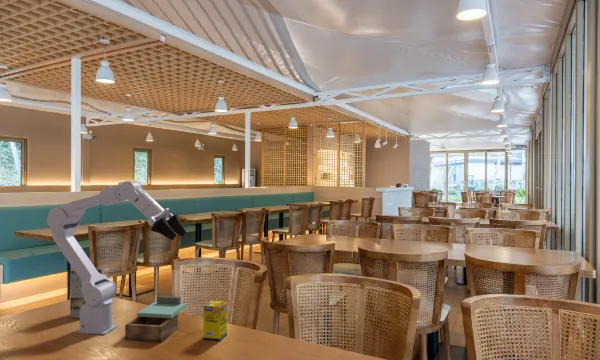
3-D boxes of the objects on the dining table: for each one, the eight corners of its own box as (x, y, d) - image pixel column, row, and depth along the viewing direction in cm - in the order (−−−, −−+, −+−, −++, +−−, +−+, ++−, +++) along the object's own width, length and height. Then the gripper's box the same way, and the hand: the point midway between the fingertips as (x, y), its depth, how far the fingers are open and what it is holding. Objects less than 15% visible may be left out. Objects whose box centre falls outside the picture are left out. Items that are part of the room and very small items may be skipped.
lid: (136, 316, 139) (136, 305, 139) (154, 305, 151) (154, 295, 151) (171, 318, 137) (171, 307, 137) (186, 307, 149) (186, 296, 149)
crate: (125, 340, 132) (125, 324, 132) (144, 326, 144) (144, 312, 144) (161, 342, 130) (161, 326, 130) (177, 328, 142) (177, 314, 142)
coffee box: (85, 318, 151) (85, 274, 151) (69, 317, 153) (69, 273, 152) (101, 310, 160) (102, 269, 160) (87, 309, 162) (87, 268, 161)
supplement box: (220, 341, 132) (220, 306, 131) (202, 340, 133) (203, 305, 133) (227, 334, 137) (227, 301, 137) (210, 333, 139) (210, 300, 138)
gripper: (146, 200, 130) (177, 229, 129) (167, 198, 145) (195, 224, 143) (132, 217, 131) (163, 246, 130) (154, 213, 145) (182, 239, 144)
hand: (179, 236), depth 136 cm, fingers open, 7 cm apart
